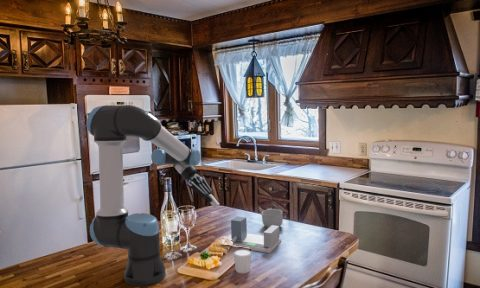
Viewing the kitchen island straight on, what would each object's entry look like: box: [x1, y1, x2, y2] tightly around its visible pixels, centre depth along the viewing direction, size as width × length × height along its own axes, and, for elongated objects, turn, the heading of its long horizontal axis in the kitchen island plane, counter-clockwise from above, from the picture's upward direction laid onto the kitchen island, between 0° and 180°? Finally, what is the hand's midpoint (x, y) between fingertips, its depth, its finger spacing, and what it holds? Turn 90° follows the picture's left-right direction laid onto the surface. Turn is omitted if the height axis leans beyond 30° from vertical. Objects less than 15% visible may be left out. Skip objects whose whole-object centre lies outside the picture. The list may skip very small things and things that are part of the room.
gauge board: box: [227, 225, 282, 254], centre depth 169 cm, size 24×14×8 cm, turn 64°
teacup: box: [261, 208, 284, 229], centre depth 192 cm, size 14×11×8 cm
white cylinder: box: [233, 248, 252, 274], centre depth 143 cm, size 7×7×7 cm
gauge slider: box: [230, 215, 248, 242], centre depth 170 cm, size 5×10×9 cm, turn 154°
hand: (217, 206), depth 176 cm, fingers closed
